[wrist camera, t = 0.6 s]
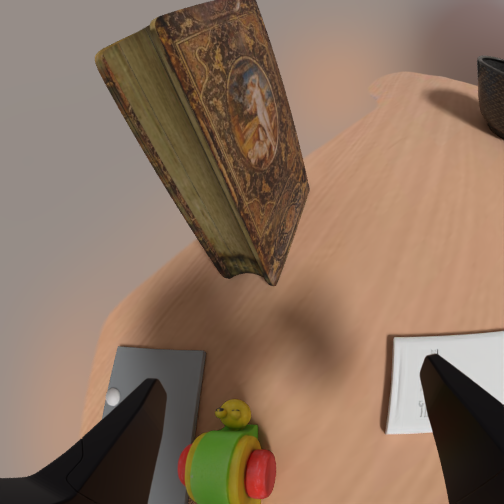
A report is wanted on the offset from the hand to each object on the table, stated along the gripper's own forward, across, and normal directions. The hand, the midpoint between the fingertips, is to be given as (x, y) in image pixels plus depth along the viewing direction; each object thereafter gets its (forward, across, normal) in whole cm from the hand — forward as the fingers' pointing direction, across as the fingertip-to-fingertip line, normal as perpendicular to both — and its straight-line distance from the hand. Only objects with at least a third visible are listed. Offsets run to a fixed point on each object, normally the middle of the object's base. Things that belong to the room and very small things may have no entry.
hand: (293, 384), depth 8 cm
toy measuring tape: (0, +5, +18) cm, 18 cm away
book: (+26, +1, +5) cm, 26 cm away
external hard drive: (+6, -14, +12) cm, 19 cm away
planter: (+36, -44, -7) cm, 57 cm away
